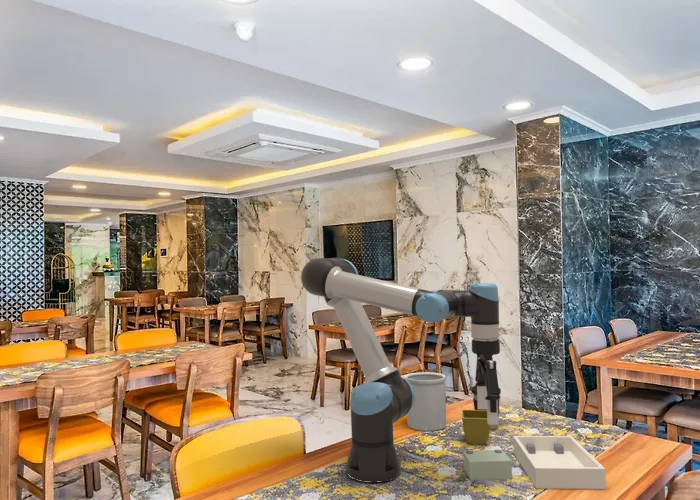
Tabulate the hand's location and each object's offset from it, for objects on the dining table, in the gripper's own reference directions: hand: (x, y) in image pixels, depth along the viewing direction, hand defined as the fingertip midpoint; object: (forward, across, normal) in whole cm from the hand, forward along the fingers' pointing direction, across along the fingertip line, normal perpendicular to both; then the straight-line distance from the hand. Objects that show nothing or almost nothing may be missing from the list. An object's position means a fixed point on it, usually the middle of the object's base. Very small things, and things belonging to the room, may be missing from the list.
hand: (487, 416), depth 136 cm
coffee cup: (+15, +38, -7) cm, 41 cm away
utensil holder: (+16, +40, +14) cm, 45 cm away
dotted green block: (+15, -1, +1) cm, 15 cm away
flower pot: (+15, +23, -1) cm, 27 cm away
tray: (+15, +1, -18) cm, 24 cm away
